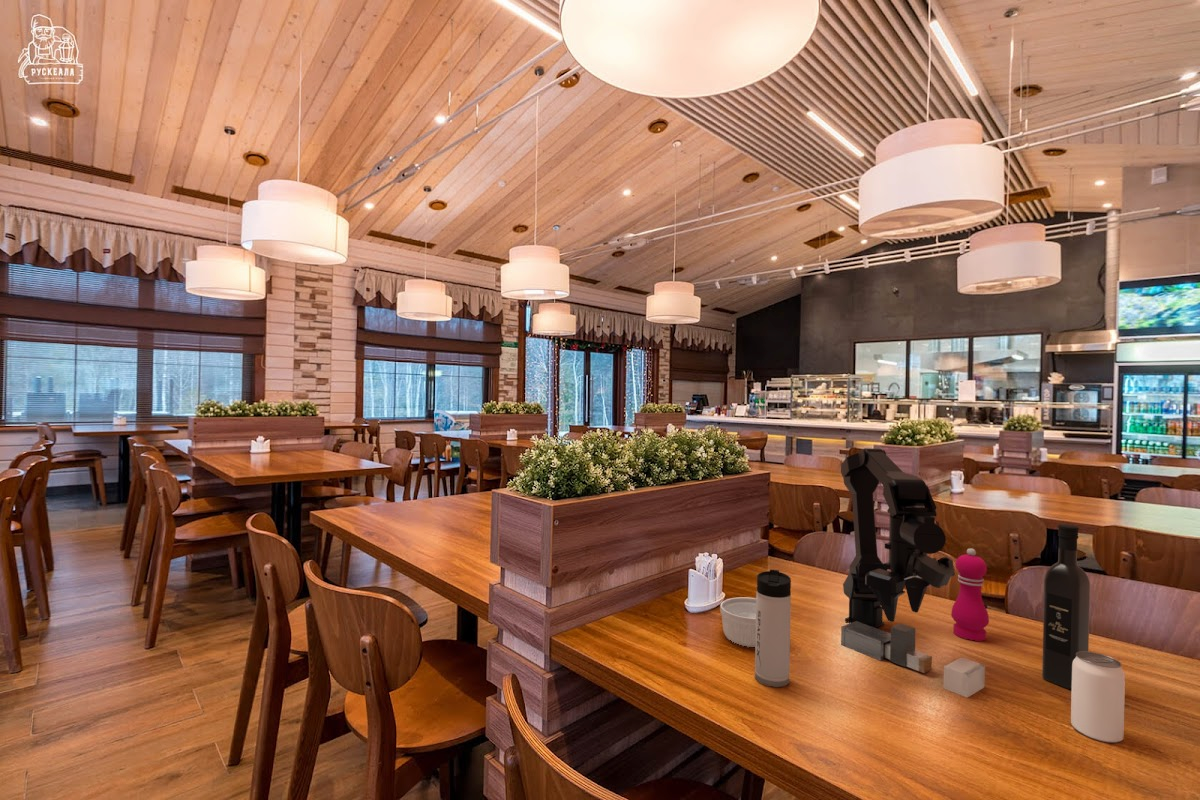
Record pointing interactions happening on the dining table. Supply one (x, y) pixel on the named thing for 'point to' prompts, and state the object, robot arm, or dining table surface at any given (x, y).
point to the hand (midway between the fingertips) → (903, 616)
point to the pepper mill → (970, 598)
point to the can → (1098, 697)
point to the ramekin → (739, 620)
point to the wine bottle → (1065, 611)
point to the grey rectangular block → (964, 677)
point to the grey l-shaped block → (906, 649)
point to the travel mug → (773, 628)
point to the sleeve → (864, 639)
